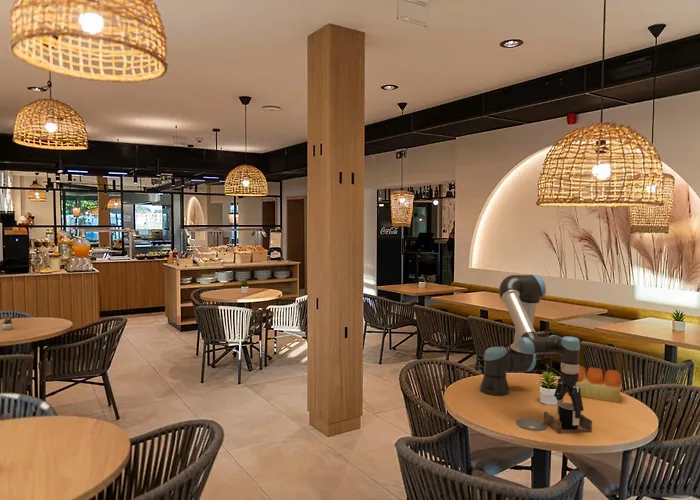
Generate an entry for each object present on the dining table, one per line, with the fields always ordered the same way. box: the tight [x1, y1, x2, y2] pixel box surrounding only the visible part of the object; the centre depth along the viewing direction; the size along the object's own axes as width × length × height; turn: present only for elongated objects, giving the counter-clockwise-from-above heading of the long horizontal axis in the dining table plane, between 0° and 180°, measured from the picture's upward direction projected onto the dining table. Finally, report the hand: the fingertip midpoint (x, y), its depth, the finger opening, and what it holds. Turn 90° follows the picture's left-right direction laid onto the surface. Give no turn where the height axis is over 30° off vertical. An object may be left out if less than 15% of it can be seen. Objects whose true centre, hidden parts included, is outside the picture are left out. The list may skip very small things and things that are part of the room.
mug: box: [558, 402, 582, 430], centre depth 232 cm, size 12×9×10 cm
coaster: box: [515, 417, 548, 432], centre depth 234 cm, size 13×13×1 cm
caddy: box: [543, 411, 593, 434], centre depth 232 cm, size 13×16×5 cm
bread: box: [576, 365, 622, 404], centre depth 274 cm, size 25×12×15 cm, turn 63°
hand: (567, 419), depth 232 cm, fingers open, 12 cm apart
